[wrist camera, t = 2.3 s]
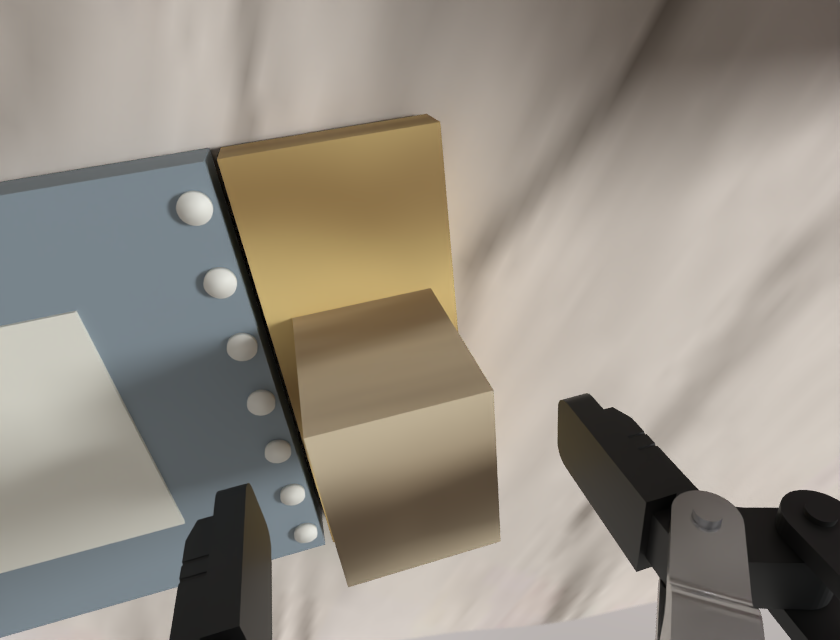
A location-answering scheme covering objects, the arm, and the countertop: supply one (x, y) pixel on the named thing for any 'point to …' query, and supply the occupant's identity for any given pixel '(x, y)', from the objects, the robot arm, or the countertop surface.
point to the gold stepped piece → (371, 337)
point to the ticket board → (130, 386)
